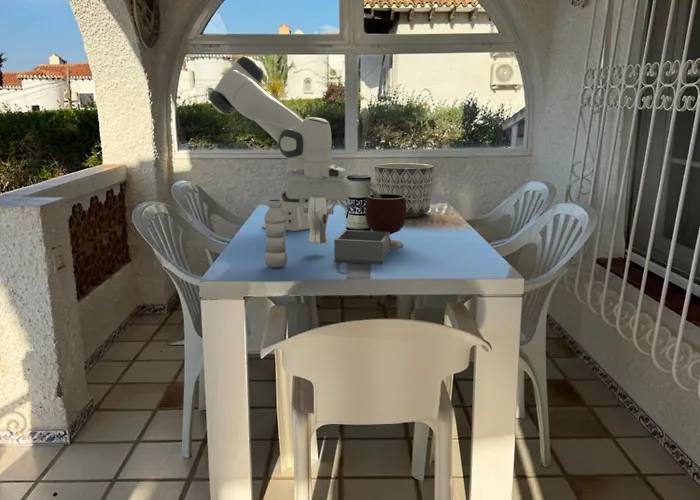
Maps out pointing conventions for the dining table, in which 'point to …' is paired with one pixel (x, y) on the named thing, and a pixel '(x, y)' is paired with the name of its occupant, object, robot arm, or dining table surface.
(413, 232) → the dining table surface
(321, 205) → the beer glass
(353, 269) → the dining table surface
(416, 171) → the planter
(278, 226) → the plastic bottle
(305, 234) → the dining table surface
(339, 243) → the bin
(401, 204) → the mate gourd
